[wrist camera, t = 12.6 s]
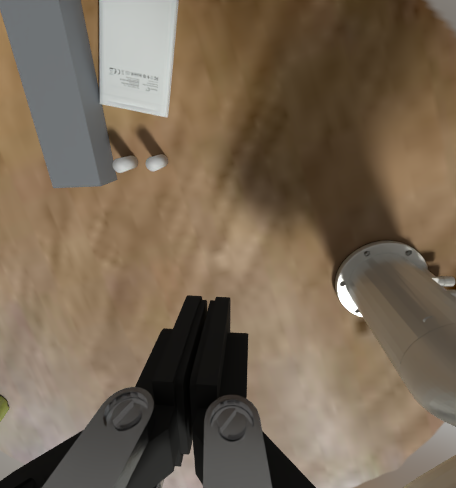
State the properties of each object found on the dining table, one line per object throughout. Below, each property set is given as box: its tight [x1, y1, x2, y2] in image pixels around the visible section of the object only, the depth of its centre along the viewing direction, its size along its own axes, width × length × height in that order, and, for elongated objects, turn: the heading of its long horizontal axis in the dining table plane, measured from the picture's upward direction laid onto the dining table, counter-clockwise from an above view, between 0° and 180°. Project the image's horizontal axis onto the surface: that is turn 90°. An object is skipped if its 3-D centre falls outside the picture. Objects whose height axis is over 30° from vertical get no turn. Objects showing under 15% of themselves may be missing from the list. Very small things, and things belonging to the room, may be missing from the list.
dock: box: [0, 0, 168, 188], centre depth 30 cm, size 13×24×4 cm, turn 3°
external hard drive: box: [99, 0, 179, 117], centre depth 31 cm, size 2×8×12 cm
